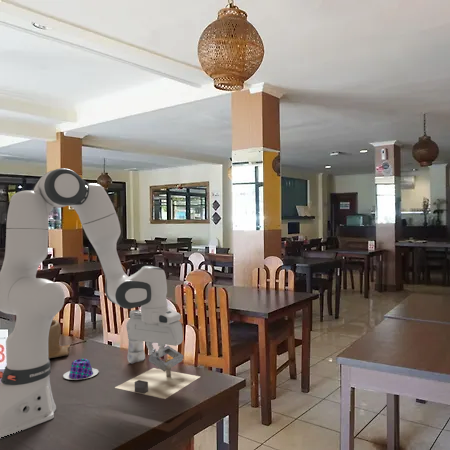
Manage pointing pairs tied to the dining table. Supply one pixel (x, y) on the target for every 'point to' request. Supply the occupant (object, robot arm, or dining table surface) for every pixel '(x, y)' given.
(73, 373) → the plaid fedora hat
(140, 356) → the plastic bottle
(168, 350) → the steel link
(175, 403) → the dining table surface
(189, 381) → the board
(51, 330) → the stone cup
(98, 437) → the dining table surface
